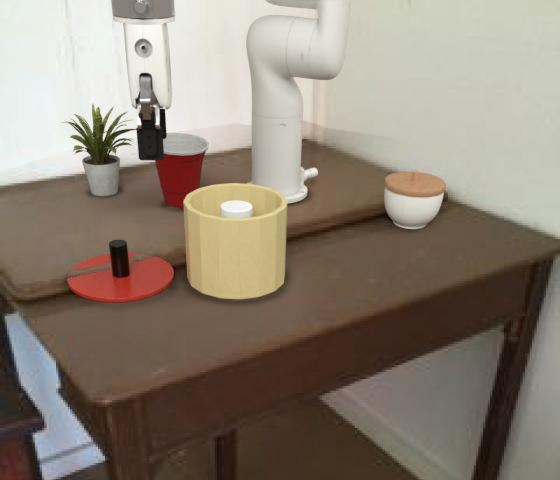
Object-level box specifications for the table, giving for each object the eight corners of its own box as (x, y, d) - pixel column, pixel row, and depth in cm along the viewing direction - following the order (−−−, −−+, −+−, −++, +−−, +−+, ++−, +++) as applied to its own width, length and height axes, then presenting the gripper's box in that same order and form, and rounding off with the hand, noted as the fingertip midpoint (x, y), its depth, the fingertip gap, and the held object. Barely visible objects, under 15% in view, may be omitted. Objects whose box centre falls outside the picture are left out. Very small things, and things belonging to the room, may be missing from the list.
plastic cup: (186, 220, 126) (183, 153, 119) (140, 207, 131) (135, 141, 124) (222, 202, 134) (221, 138, 127) (177, 190, 138) (174, 128, 132)
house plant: (105, 212, 128) (94, 120, 119) (49, 197, 133) (34, 108, 124) (154, 190, 138) (147, 104, 129) (100, 177, 144) (90, 93, 135)
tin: (244, 251, 115) (244, 176, 108) (304, 283, 106) (308, 204, 99) (169, 275, 107) (164, 196, 100) (227, 312, 98) (225, 228, 91)
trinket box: (445, 218, 130) (453, 168, 125) (430, 238, 122) (438, 186, 117) (390, 208, 134) (395, 159, 128) (372, 227, 125) (377, 175, 120)
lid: (139, 251, 114) (136, 214, 111) (194, 285, 105) (192, 247, 101) (50, 277, 106) (43, 238, 102) (100, 317, 96) (95, 276, 93)
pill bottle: (251, 286, 104) (252, 215, 98) (211, 281, 105) (209, 211, 99) (261, 268, 109) (261, 200, 103) (222, 264, 110) (221, 196, 104)
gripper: (172, 17, 78) (180, 168, 88) (176, -1, 93) (182, 131, 102) (104, 15, 78) (119, 169, 87) (118, -2, 92) (130, 131, 101)
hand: (153, 148), depth 95 cm, fingers open, 9 cm apart
